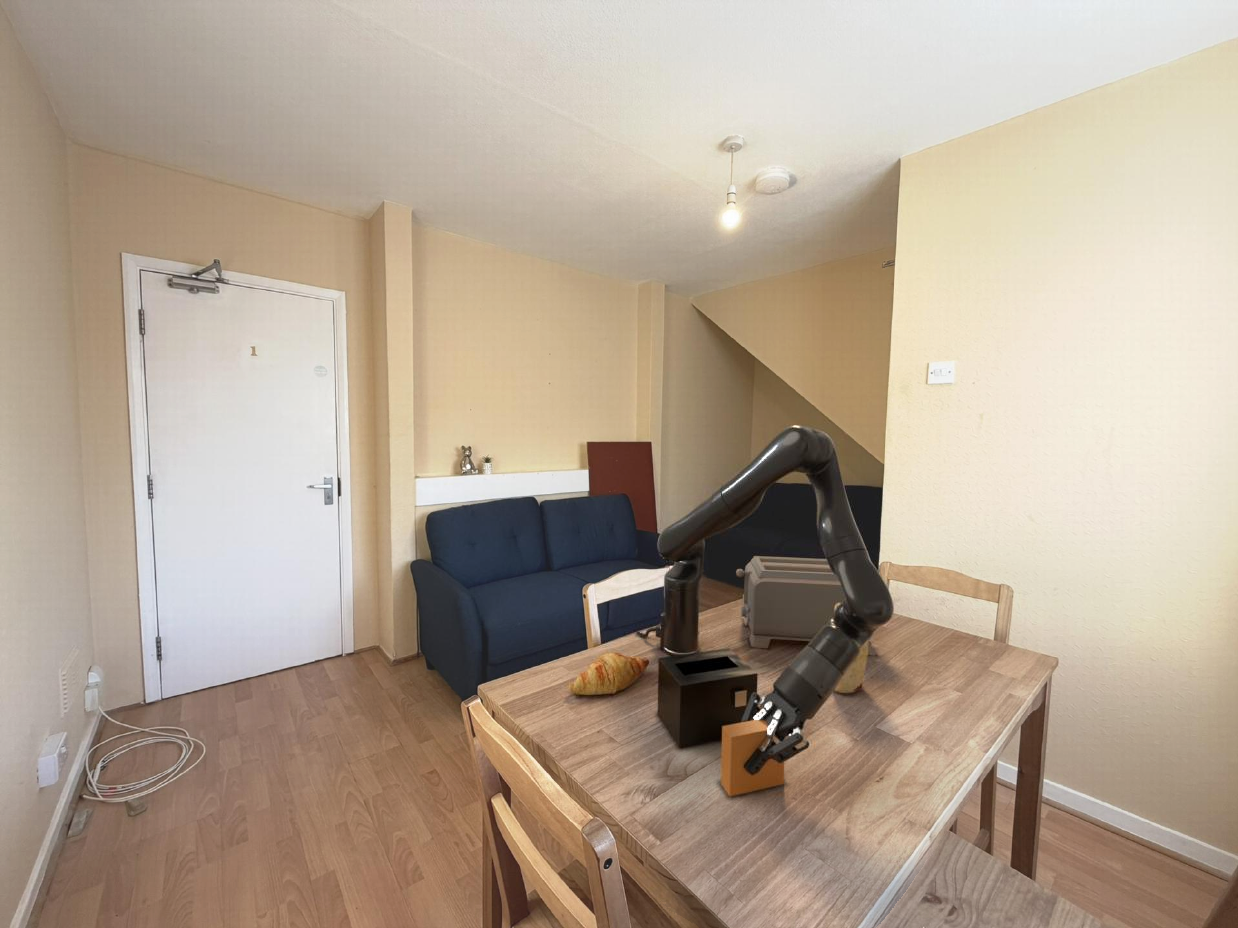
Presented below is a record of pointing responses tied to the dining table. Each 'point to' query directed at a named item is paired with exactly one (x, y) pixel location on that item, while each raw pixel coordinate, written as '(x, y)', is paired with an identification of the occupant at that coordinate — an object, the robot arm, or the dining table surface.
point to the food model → (854, 671)
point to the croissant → (609, 674)
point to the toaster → (788, 598)
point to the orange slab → (736, 752)
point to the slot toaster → (703, 694)
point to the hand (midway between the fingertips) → (742, 763)
